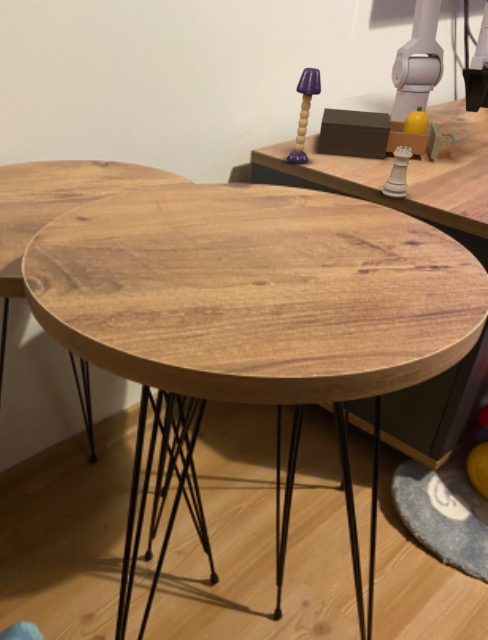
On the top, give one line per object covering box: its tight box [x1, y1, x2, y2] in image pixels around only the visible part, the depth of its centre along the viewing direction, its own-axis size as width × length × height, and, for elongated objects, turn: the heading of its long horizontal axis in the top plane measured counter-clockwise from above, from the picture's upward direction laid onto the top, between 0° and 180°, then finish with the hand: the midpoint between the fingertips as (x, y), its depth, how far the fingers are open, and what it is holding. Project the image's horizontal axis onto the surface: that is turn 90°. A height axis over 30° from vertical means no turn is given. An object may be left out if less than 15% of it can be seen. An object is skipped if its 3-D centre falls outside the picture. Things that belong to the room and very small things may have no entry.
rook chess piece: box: [381, 146, 414, 199], centre depth 114 cm, size 4×4×8 cm
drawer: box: [386, 120, 462, 160], centre depth 136 cm, size 17×11×4 cm
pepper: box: [403, 106, 429, 135], centre depth 133 cm, size 5×5×7 cm
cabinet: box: [316, 107, 391, 160], centre depth 138 cm, size 14×13×6 cm
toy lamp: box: [286, 67, 322, 165], centre depth 126 cm, size 5×5×17 cm
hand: (478, 109), depth 125 cm, fingers open, 7 cm apart
